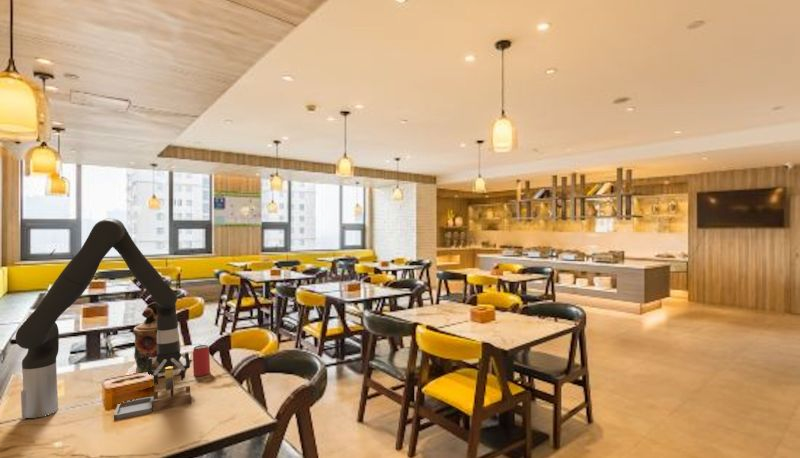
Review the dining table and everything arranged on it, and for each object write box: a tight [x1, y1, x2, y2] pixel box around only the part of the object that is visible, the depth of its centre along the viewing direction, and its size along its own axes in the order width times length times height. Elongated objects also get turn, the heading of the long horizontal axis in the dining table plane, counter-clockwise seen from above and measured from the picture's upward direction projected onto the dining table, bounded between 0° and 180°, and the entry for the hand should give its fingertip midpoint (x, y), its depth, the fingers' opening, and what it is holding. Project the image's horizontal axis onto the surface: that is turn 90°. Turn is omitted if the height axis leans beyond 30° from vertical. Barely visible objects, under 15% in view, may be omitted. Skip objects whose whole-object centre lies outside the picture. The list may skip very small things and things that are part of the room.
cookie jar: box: [125, 301, 193, 378], centre depth 193 cm, size 25×25×32 cm
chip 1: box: [158, 389, 171, 399], centre depth 155 cm, size 4×4×2 cm
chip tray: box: [113, 395, 154, 421], centre depth 151 cm, size 11×12×2 cm
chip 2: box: [173, 386, 186, 396], centre depth 158 cm, size 4×4×2 cm
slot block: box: [152, 385, 192, 412], centre depth 157 cm, size 12×9×4 cm
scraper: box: [164, 366, 174, 390], centre depth 165 cm, size 3×4×10 cm, turn 27°
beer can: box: [192, 344, 211, 377], centre depth 186 cm, size 7×7×12 cm
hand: (169, 381), depth 165 cm, fingers open, 8 cm apart
